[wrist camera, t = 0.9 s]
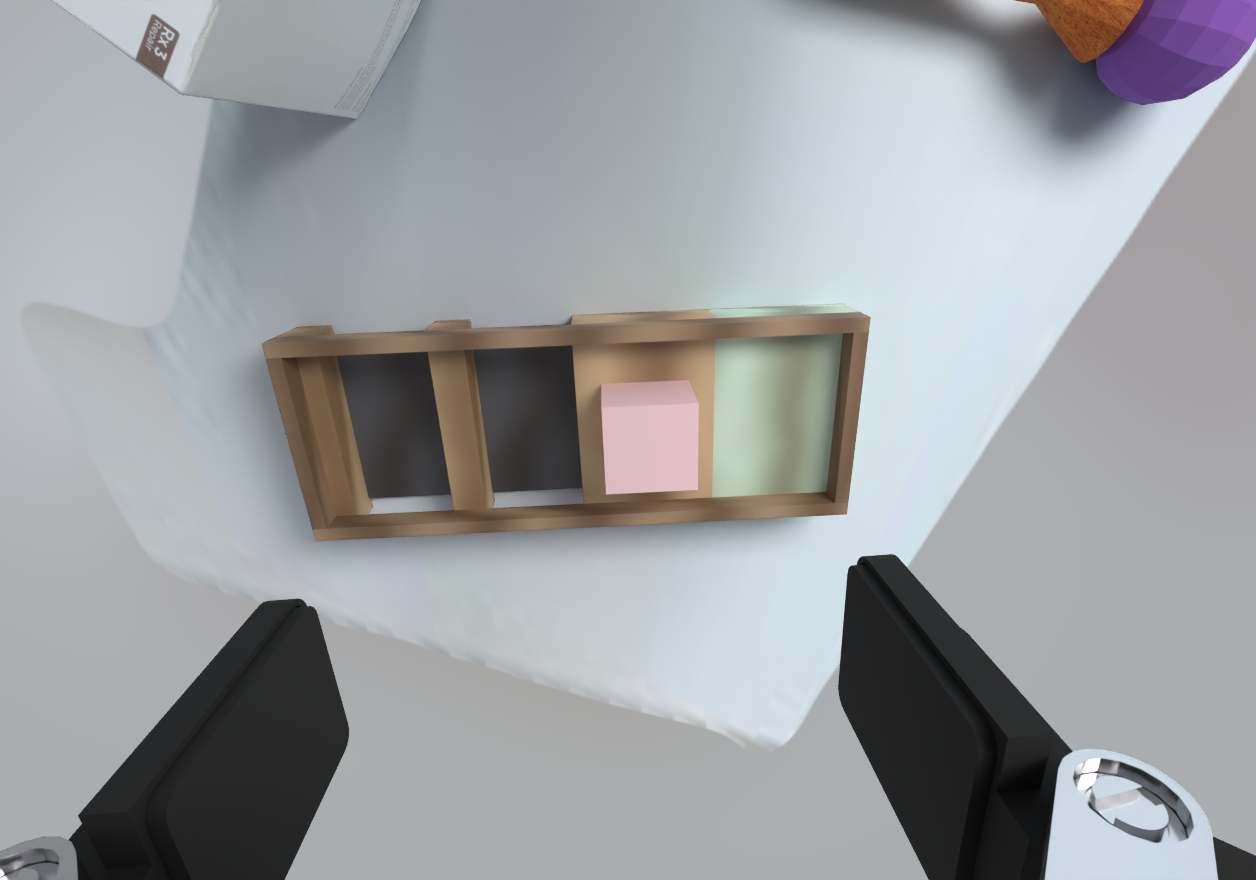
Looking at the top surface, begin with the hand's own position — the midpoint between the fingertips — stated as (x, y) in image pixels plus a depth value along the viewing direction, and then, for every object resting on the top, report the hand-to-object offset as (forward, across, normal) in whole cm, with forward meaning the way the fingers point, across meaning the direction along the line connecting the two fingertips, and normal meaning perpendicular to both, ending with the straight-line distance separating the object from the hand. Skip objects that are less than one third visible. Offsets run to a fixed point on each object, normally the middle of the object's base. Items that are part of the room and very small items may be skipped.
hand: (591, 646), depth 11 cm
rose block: (+25, -3, +4) cm, 26 cm away
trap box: (+28, +1, +4) cm, 28 cm away
